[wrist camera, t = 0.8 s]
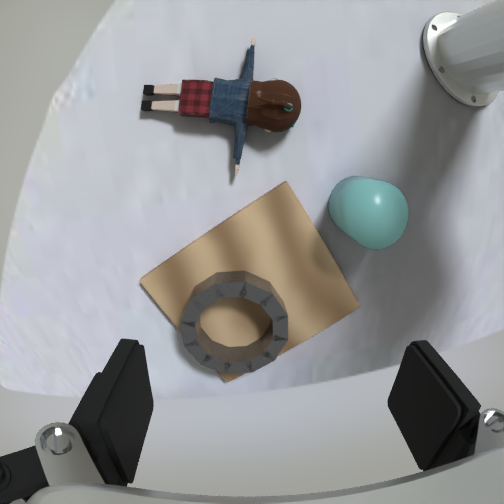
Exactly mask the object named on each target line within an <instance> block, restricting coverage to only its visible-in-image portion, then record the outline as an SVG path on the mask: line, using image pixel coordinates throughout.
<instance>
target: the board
mask: <svg viewBox="0 0 504 504" xmlns="http://www.w3.org/2000/svg"><path fill="white" fill-rule="evenodd" d="M243 270H245V271H247V272H250V273H252V274H254V275H256V276H258V277H261V278H263V279H265V280H267V281H269V282H270V283H271V284H272V286H273V287H274V288H275V290H276V291H277V293H278V294H279V296H280V297H281V299H282V300H283V301H284V304H285V307H286V310H287V314H288V341H287V343H286V344H285V346H284V347H283V349H282V350H281V352H280V353H279V355H281V354H282V353H284V352H286V351H288V350H290V349H291V348H293V347H295V346H297V345H298V344H300V343H302V342H304V341H305V340H307V339H309V338H310V337H312V336H314V335H315V334H317V333H319V332H321V331H322V330H324V329H326V328H327V327H329V326H330V325H332V324H334V323H335V322H337V321H339V320H340V319H342V318H343V317H345V316H347V315H348V314H350V313H351V312H353V311H354V310H356V309H358V308H359V307H360V305H359V303H358V301H357V299H356V298H355V296H354V294H353V292H352V290H351V289H350V287H349V285H348V283H347V281H346V280H345V278H344V276H343V274H342V272H341V271H340V269H339V267H338V265H337V264H336V262H335V260H334V258H333V257H332V255H331V253H330V252H329V250H328V248H327V246H326V245H325V243H324V241H323V240H322V238H321V236H320V235H319V233H318V231H317V230H316V228H315V226H314V225H313V223H312V221H311V220H310V218H309V216H308V215H307V213H306V211H305V210H304V208H303V207H302V205H301V203H300V202H299V200H298V198H297V197H296V195H295V194H294V192H293V190H292V189H291V187H290V186H289V184H288V183H287V181H284V182H283V183H281V184H280V185H278V186H277V187H275V188H273V189H272V190H270V191H269V192H267V193H266V194H264V195H263V196H261V197H259V198H258V199H256V200H255V201H253V202H252V203H250V204H249V205H247V206H246V207H244V208H243V209H241V210H240V211H238V212H236V213H235V214H233V215H232V216H230V217H229V218H227V219H226V220H224V221H223V222H221V223H220V224H218V225H217V226H215V227H214V228H212V229H211V230H209V231H208V232H207V233H205V234H204V235H202V236H201V237H199V238H198V239H196V240H195V241H193V242H192V243H190V244H189V245H187V246H186V247H184V248H183V249H182V250H180V251H179V252H177V253H176V254H174V255H173V256H171V257H170V258H169V259H167V260H166V261H164V262H163V263H161V264H160V265H159V266H157V267H156V268H154V269H153V270H151V271H150V272H149V273H147V274H146V275H144V276H143V277H142V278H141V279H140V282H141V284H142V285H143V286H144V287H145V289H146V290H147V291H148V292H149V294H150V295H151V296H152V297H153V299H154V300H155V301H156V302H157V304H158V305H159V306H160V307H161V309H162V310H163V311H164V312H165V313H166V315H167V316H168V317H169V318H170V319H171V321H172V322H173V323H174V324H175V325H176V326H177V328H178V329H179V330H180V331H181V325H180V320H181V317H182V314H183V311H184V308H185V306H186V304H187V302H188V300H189V297H190V295H191V293H192V291H193V289H194V287H195V286H196V285H198V284H199V283H201V282H202V281H204V280H205V279H207V278H209V277H210V276H212V275H213V274H215V273H216V272H228V271H243ZM200 323H201V328H202V329H203V330H204V331H205V332H206V334H207V335H208V336H209V337H210V338H211V339H212V340H213V341H215V342H218V343H220V344H223V345H225V346H228V347H237V346H247V345H249V344H251V343H253V342H255V341H256V340H258V339H260V338H262V336H263V335H264V333H265V331H266V330H267V328H268V326H269V325H270V316H269V315H268V313H267V312H266V311H265V309H264V308H263V307H262V305H260V304H257V303H255V302H253V301H250V300H248V299H246V298H243V297H234V298H220V299H219V300H217V301H216V302H214V303H212V304H211V305H209V306H207V307H206V308H204V309H203V311H202V313H201V315H200ZM181 332H182V331H181ZM279 355H278V356H279ZM216 371H217V370H216ZM217 372H218V373H219V375H220V376H221V377H222V378H223V379H224V380H225V381H226V382H229V381H231V380H233V379H235V378H237V377H239V376H241V375H243V374H245V373H232V374H225V373H222V372H219V371H217Z"/></svg>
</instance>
